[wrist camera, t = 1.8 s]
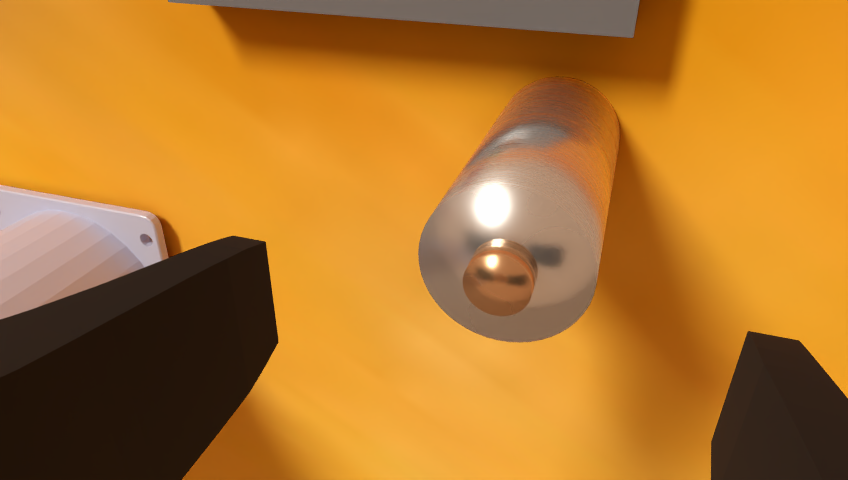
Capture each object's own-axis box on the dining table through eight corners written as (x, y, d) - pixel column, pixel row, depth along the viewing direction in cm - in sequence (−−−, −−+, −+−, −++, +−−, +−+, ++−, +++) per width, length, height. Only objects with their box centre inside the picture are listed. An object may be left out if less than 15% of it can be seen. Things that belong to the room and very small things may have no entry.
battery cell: (609, 198, 18) (580, 379, 11) (495, 182, 18) (408, 341, 12) (629, 83, 16) (608, 217, 10) (503, 71, 17) (407, 187, 10)
